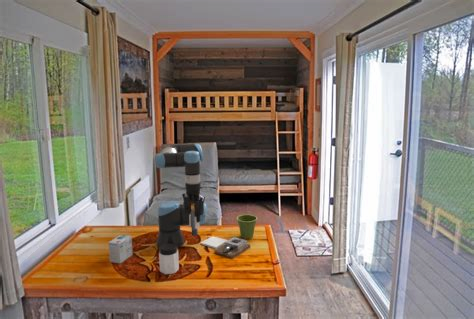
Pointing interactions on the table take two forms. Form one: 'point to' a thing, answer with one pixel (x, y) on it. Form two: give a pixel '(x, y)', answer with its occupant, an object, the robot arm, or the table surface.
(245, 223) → the plant pot
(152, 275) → the table surface
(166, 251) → the jar
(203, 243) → the mat
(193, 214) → the copper and gray cylinder
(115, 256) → the light bulb box
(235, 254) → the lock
